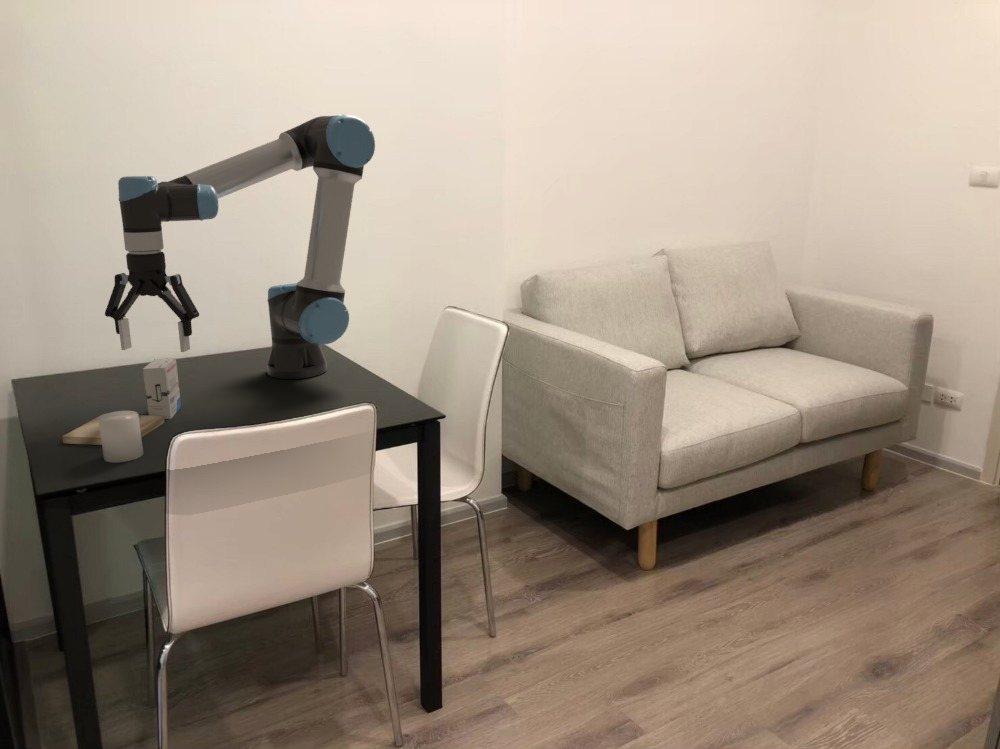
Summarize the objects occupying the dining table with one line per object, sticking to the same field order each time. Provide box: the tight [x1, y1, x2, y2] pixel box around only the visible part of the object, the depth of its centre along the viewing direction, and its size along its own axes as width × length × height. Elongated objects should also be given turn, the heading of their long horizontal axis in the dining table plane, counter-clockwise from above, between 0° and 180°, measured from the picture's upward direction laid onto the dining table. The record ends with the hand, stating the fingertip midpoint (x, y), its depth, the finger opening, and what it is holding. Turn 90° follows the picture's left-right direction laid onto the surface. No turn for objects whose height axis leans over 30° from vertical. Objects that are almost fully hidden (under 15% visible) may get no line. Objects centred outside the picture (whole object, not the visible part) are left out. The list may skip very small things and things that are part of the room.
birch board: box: [62, 413, 165, 446], centre depth 173 cm, size 14×14×2 cm
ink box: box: [142, 357, 182, 420], centre depth 184 cm, size 9×5×12 cm, turn 5°
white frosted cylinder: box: [98, 410, 144, 463], centre depth 160 cm, size 7×7×8 cm
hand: (156, 349), depth 181 cm, fingers open, 13 cm apart
